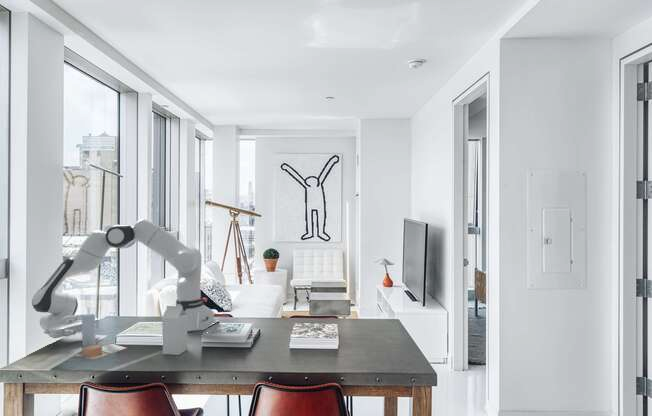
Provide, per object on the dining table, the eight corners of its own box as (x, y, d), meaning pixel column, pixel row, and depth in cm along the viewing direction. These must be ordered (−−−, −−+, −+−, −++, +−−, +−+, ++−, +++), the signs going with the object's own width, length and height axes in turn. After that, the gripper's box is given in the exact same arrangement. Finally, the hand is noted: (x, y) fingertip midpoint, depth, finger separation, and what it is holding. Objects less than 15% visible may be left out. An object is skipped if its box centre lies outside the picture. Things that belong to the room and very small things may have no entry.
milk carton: (178, 355, 181) (177, 308, 181) (162, 354, 182) (161, 307, 182) (187, 349, 188) (186, 304, 187) (172, 348, 189) (171, 303, 189)
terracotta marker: (94, 351, 184) (94, 344, 184) (102, 353, 181) (102, 346, 181) (82, 355, 179) (82, 347, 179) (90, 357, 177) (90, 349, 177)
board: (111, 346, 194) (111, 343, 194) (127, 350, 188) (127, 347, 188) (74, 357, 180) (74, 355, 180) (91, 362, 174) (91, 359, 174)
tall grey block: (91, 345, 195) (90, 313, 195) (98, 347, 193) (97, 314, 192) (79, 348, 191) (79, 316, 190) (86, 350, 188) (86, 317, 188)
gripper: (41, 324, 191) (60, 328, 184) (87, 313, 209) (106, 317, 202) (42, 339, 191) (60, 344, 184) (88, 327, 209) (106, 330, 202)
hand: (84, 329), depth 193 cm, fingers open, 8 cm apart
